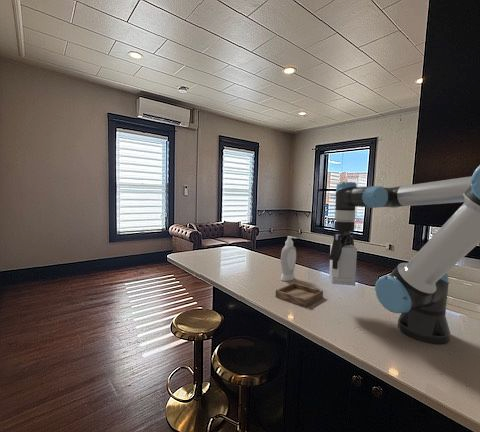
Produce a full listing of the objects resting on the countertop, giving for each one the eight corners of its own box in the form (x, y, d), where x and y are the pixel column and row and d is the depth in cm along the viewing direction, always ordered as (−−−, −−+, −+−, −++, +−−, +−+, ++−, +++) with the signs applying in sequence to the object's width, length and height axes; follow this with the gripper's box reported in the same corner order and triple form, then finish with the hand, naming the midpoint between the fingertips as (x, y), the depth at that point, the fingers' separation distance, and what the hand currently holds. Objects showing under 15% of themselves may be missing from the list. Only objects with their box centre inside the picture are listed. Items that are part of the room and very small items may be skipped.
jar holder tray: (322, 297, 122) (323, 291, 122) (305, 307, 111) (305, 300, 110) (293, 288, 133) (294, 282, 132) (275, 296, 121) (275, 290, 121)
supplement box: (355, 286, 102) (357, 248, 101) (331, 284, 104) (333, 247, 103) (351, 279, 111) (352, 244, 110) (328, 277, 113) (330, 243, 112)
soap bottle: (287, 284, 139) (289, 238, 137) (276, 280, 145) (278, 236, 143) (302, 279, 148) (304, 236, 146) (291, 276, 153) (293, 234, 151)
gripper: (347, 218, 117) (344, 266, 118) (321, 221, 99) (319, 277, 101) (364, 220, 112) (362, 270, 113) (341, 223, 94) (338, 282, 96)
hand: (342, 273), depth 107 cm, fingers closed on supplement box, 12 cm apart
